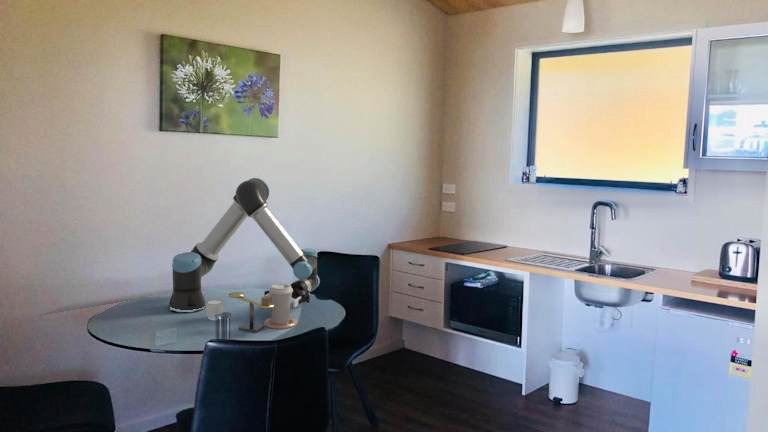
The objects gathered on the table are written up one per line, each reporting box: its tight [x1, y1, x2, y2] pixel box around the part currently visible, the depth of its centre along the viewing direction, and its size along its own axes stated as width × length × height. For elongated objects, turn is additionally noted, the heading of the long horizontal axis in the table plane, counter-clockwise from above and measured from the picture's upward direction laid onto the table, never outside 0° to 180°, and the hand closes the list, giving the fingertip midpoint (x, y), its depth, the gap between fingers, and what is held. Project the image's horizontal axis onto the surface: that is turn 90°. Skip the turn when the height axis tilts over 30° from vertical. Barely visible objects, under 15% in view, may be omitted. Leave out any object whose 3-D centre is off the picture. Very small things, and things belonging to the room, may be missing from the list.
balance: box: [228, 291, 274, 334], centre depth 245 cm, size 19×6×14 cm, turn 75°
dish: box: [264, 317, 298, 330], centre depth 253 cm, size 13×13×1 cm
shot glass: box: [205, 299, 224, 318], centre depth 256 cm, size 7×7×7 cm
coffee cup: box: [268, 283, 293, 324], centre depth 252 cm, size 10×10×15 cm
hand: (278, 302), depth 249 cm, fingers open, 13 cm apart
